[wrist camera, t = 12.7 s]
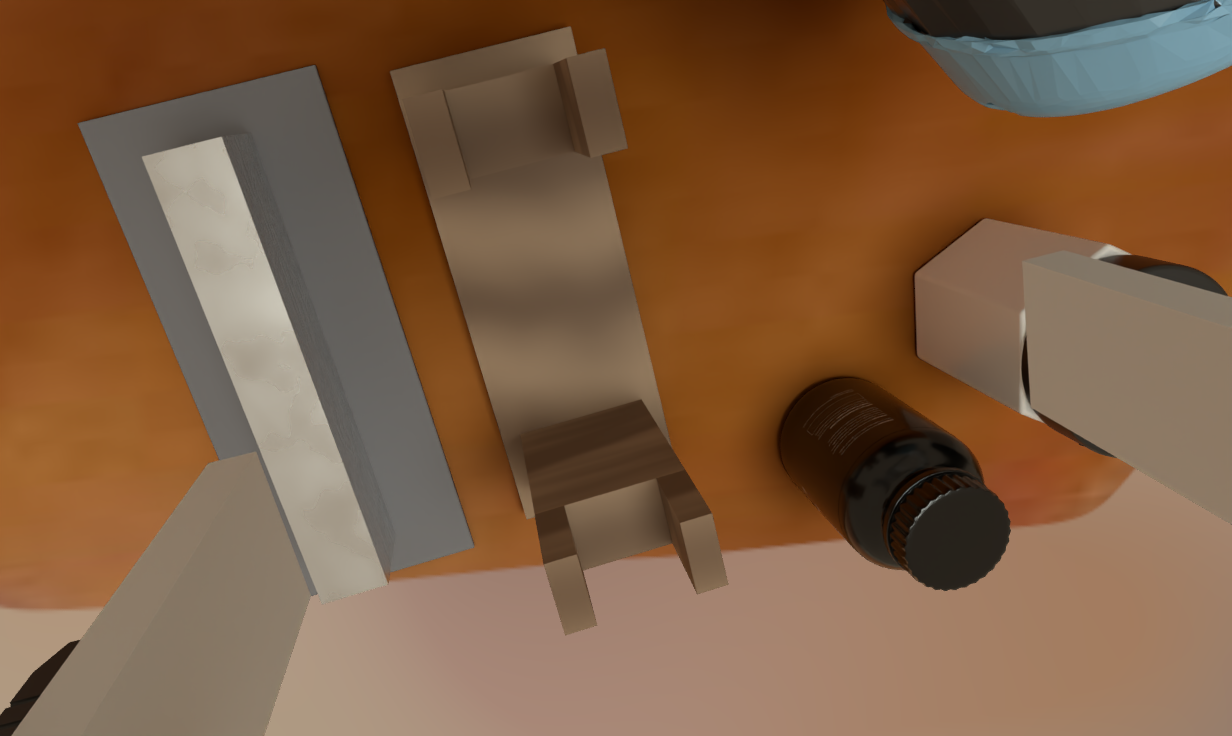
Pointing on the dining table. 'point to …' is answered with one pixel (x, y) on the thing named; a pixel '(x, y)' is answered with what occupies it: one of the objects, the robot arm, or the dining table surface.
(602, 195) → the stand
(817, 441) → the supplement bottle
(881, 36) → the dining table surface
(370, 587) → the rail
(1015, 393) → the jar
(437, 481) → the mat
